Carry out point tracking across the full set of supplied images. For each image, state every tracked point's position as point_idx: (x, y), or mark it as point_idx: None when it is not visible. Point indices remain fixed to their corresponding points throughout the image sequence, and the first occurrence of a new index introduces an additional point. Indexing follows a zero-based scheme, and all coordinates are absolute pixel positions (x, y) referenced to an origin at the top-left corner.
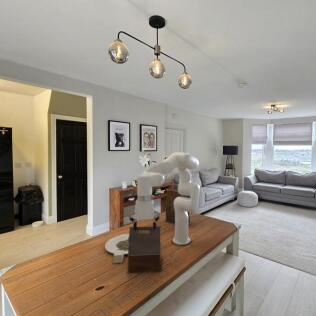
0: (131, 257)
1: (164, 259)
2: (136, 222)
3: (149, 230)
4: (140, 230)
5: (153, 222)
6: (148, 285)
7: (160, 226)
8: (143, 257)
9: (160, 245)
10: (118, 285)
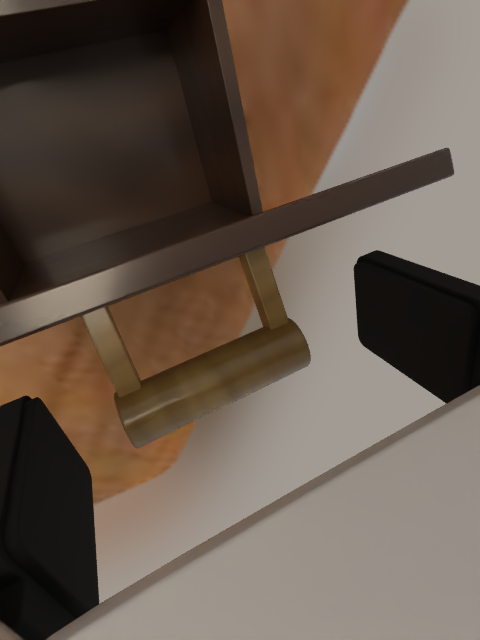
0: None
1: None
2: (49, 568)
3: (305, 362)
4: (162, 418)
5: (466, 385)
6: (203, 334)
7: (452, 172)
8: None
9: (225, 37)
10: (50, 386)
